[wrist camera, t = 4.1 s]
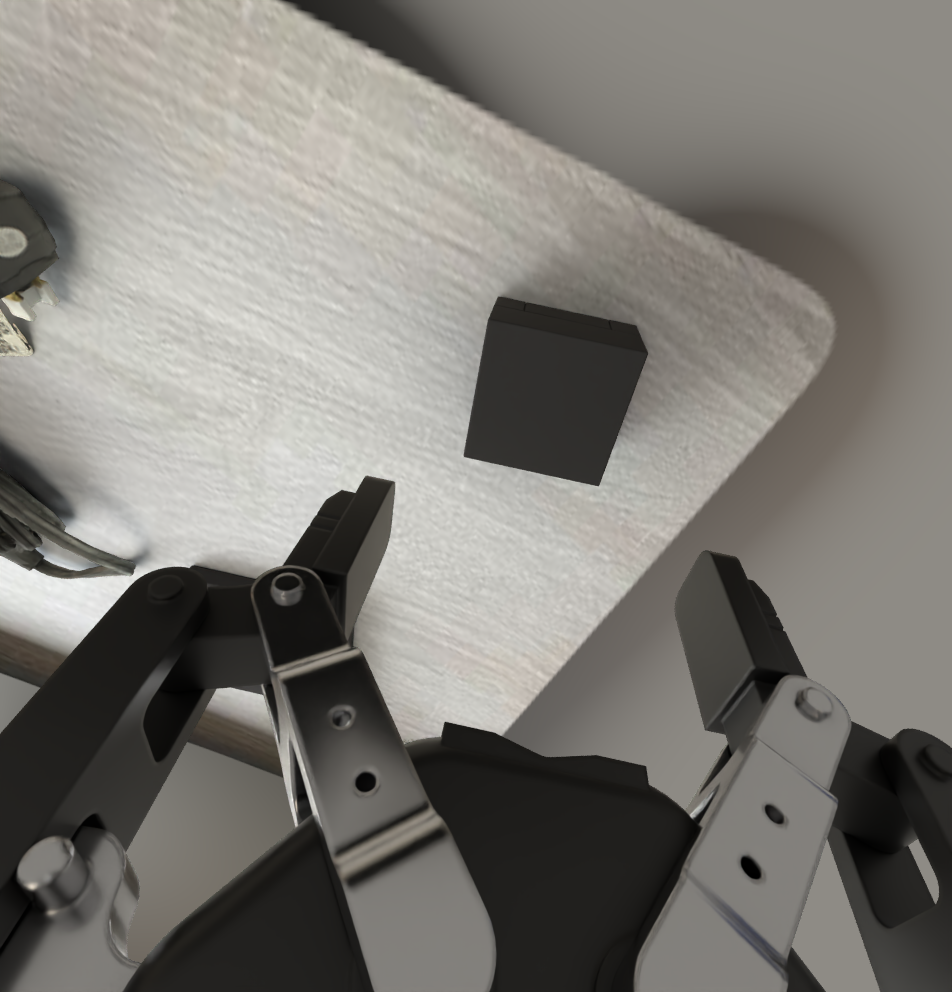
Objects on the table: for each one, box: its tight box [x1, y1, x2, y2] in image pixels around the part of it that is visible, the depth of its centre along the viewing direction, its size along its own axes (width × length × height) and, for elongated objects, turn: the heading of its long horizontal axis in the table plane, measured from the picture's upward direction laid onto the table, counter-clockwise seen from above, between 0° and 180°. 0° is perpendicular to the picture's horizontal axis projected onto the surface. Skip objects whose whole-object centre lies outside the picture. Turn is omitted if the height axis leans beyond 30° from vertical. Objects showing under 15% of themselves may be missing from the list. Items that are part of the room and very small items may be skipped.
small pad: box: [464, 297, 648, 486], centre depth 22 cm, size 6×6×4 cm
